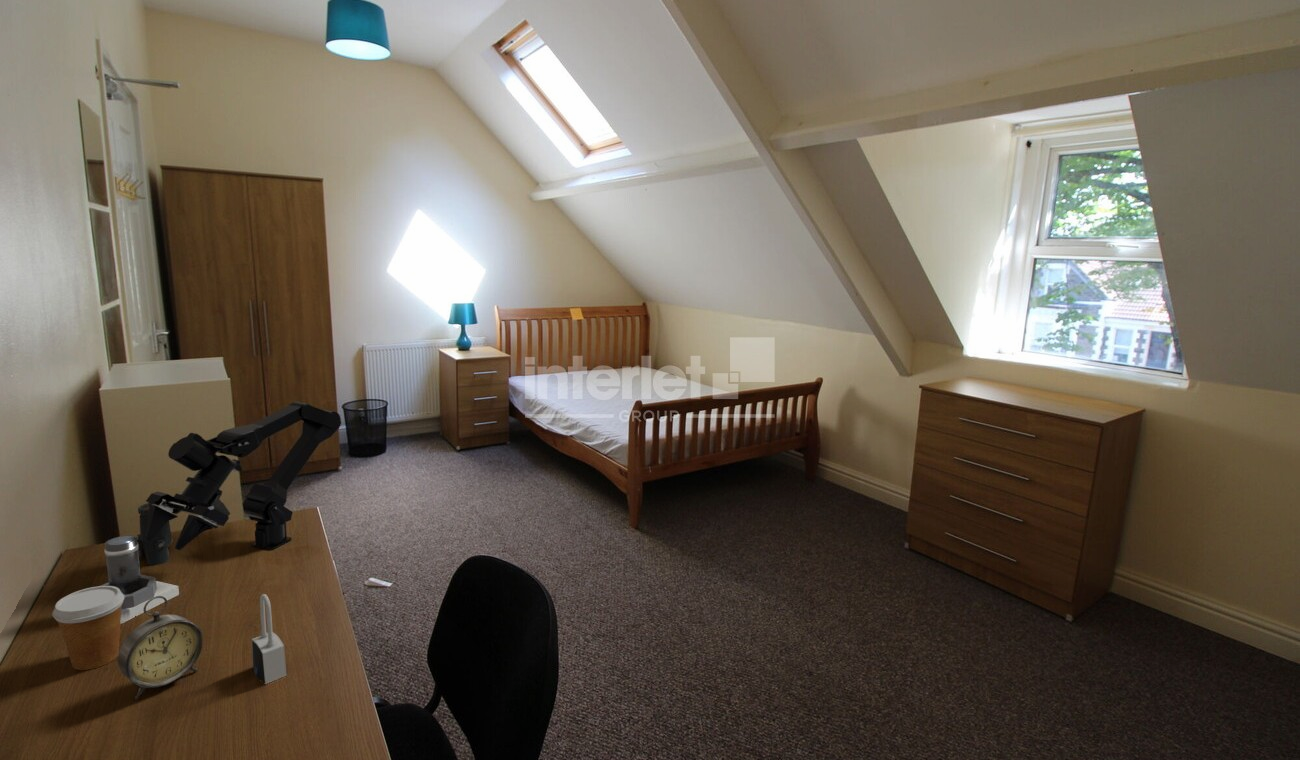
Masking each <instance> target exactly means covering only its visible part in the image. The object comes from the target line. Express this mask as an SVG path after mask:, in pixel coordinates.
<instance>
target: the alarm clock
mask: <svg viewBox="0 0 1300 760" xmlns="http://www.w3.org/2000/svg"><path fill="white" fill-rule="evenodd" d="M155 598H162V599H164V600H165V602H164V606H163V608H162V609H161V610H160V611H157V610H155V611H154V612H153V613H148V612H147V611H146V607H147V605H148V603H149V602H150V601H152V600H153V599H155ZM167 605H168V600H167V599H166V598H165V597H163V596H156V597H153V598H151V599H150V600H149V601H148V602H147V603H146V604H145V606H144V614H145V615H146V616H149V617H151V618H150V619H148V620H145V621H144V622H142V623H141V624H139V625H138V626H136V627H135V628H134V629H133V630H132V631H131V632H130V633H129V634H128V635H127V636H126V638H125V639H124V640H123V642H122V644H121V647H119V654H118V656H117V664H118V665H117V666H118V669H119V671H120V672H121V673H122V675H123V676H125V678H127V679H128V680H129V681H130V682H132V683H133V684H134V685H136V686H138V687H139V688H138V691H137V693H136V695H134V700H139V699H140V696H141V694H142V693H143V692H144V691H145V689H152V688H153V689H154V688H159V687H164V686H166V685H169V684H170V683H173V682H175V681H177V680H178V679H180V678H181V677H182V676H184V675H185V674H187V673H188V671H193V672H194V673H196V672H198V668H197V667H194V665H195V664H196V662H197V660H198V659H199V657H200V655H201V653H202V652H203V651H202V650H203V646H204V636H203V632H202V630H201V628H200V627H199V626H198V625H197V624H195V623H194V622H192V621H190V620H189V619H188V618H185V617H183V616H181V615H177V614H162V615H160V614H161V613H162V612H164V610H166V607H167Z"/></svg>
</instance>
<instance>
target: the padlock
mask: <svg viewBox="0 0 1300 760" xmlns="http://www.w3.org/2000/svg"><path fill="white" fill-rule="evenodd" d="M259 611H260V613H259V615H260V627H261V633H260V636H257V637H253V638H251V655H252V656H251V657H252V661H251V662H252V669H253V671H254V675H255V678H256V677H257V678H256V679H258V680H259V681H260V680H261V681H263V682H262V684H264V683H265V684H267V683H269V682H272V681H274V680H277V679H279V678H281V677H284V676H287V668H286V667H287V665H286V656H285V655H286V654H285V645H284V643H283V642H282V640H281V639H280V637H279V636H278V635H277V634H276V633H275V632H273V620H272V619H273V618H272V606H271V602H270V599H269V597H268V595H267V594H265V593H262V594H261V595H260V597H259ZM266 623H267V624H266ZM284 678H285V677H284ZM261 681H260V682H261ZM277 681H278V680H277ZM272 683H273V682H272ZM265 684H264V685H265Z"/></svg>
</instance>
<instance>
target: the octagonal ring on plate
mask: <svg viewBox="0 0 1300 760" xmlns="http://www.w3.org/2000/svg"><path fill="white" fill-rule="evenodd" d="M140 575H141V585H142V589H140V590H138V591H136V592H134V593H132V594H127V595H124V600H123V603H122V605H121V624H120V625H122V624H124V623H126V622H127V621H129V620H132V619H133V618H136V617H137V616H140V615H141V614H143V613H144V606H145V604H146V603H147V602H148V601H149V600H150V599H151V598H153V597H156V596H163V597H165V598H166V599H167V601H169V600H171V599H173V598H175V597H178V596H179V595H180V590H179V587H180V586H179V585H176V584H175V585H174V584H170V583H166V582H162V581H158V580H157V579H156V577H155V576H151V575H145V574H140ZM100 586H109V581H108V582H106V583H104V584H101V585H100ZM163 603H164V604H165V600H164V599H162V598H155V599H153V600H152V601H150V602H149V603H148V605H147V607H146V612H147V611H149V610H152V609H153V608H155V607H157V606H159V605H161V604H163ZM144 614H145V613H144ZM135 616H136V617H135Z"/></svg>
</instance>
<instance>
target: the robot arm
mask: <svg viewBox="0 0 1300 760" xmlns="http://www.w3.org/2000/svg"><path fill="white" fill-rule="evenodd" d="M300 421H301V422H303V423H302V424H301V425H302V427H301V435H300V436H299V438H298V439H297V441H295V443H294V445H293V446H292V448H291V449H290V450H289V451H288V453H287V454H286V456H285V457H284V458H283V460H282V461H281V463H280V464H279V465H278V467H277V468H276V469H275V471H274V472H273V474H272V475H271V476H270V478H269V479H268V480H267V481H266V482H264V483H262V484H261V483H257V482H256V483H254V485H252V487H251V489H250V490H249V492H247V493H246V495H244V500H243V502H242V507H243V508H242V509H243V512H244V514H245V515H246V516H248V518H249V520H250V521H254V522H256V523H255V530H254V539H255V541H254V542H252V543H251V546H252V547H257V548H261V549H267V550H274V549H276V548H278V547H280V546H282V545H284V544H285V543H288V542H290V541H292V540H293V537H291V536H290V537H289V536H288V535H287V534H288V533H287V522H289V521H291V520H292V516H293V510H290V509H289V508H287V507H286V506H285V505H286V503H287V496H288V495H287V494H288V489H289V488H290V487H291V485H292V484H293V482H294V481H295V480H296V479H297V477H298V475H299V473H300V472H301V471H302V469H303V468H304V467H305V465H306V464H307V462H308V461H309V459H310V458H311V456H312V455H313V454H314V452H315V451H316V449H318V446H319V445H320V444H321V443H323V442H325V441H326V440H329V438H332V436H334V434H335V433H336V432H337V431H338V430H339V429H340V427H341V425H342V420H341V415H340V413H338V412H337V411H333V410H327V409H321V408H318V407H315V406H313V405H311V404H309V403H307V402H300V401H294V402H293V401H292V402H291V403H289V404H288V405H286V406H285V407H282V408H281V409H279V410H276V411H274V412H272V413H271V414H269V415H267V416H265V417H263V418H261V419H259V420H257V421H255V422H253V423H250V424H246V425H240V426H234V427H232V428H228V429H225V430H222V431H221V432H219V433H218V434H217V436H215V437H212V438H209V439H205V438H203V437H202V436H201V435H200V434H198V433H196V432H190V433H188V435H187V436H185V437H181V438H180V439H179V440H177V441H176V442H174V443H173V444H172V445H171V446H170V448H169V449H168V453H167V454H168V458H169V459H171V460H173V461H174V462H176V463H178V464H179V465H182V467H185V468H187V469H188V470H190V471H192V472H194V471H195V472H196V471H197V472H196V473H195V474H194V476H193V477H190V476H188V477H187V478H186V479H185V482H186V483H188V484H187V485H186V487H185V488H184V489H183V491H182V492H181V493H175V494H174V495H173V496H172V495H170V494H168V493H165V492H161V491H155V492H151V493H150V495H148V497H147V499H146V500H145V502H147V503H150V504H148V505H147V506H148V507H149V516H148V525H147V531H146V537H145V540H146V541H148V542H150V541H152V540H153V538H154V537H155V536H156V535H157V534H158V533H159V532H160V530H161V529H162V528H163V527H164V526H165V524H166V523H167V522H168V521H169V522H170V521H171V520H174V519H177V518H178V517H179V516H178V514H179V513H181V512H184V513H188V516H187V518H186V519H185V523H184V524H183V527H182V529H181V531H180V533H179V536H178V538H177V540H176V543H175V546H174V549H175V550H177V551H181V550H183V548H184V547H186V546H188V544H190V543H191V542H192V541H193V540H194V539H195V538H197V537H198V536H199V535H201V534H202V533H204V532H205V531H209V530H215V529H219V527H224V526H226V524H227V522H229V516H230V515H231V512H230V511H229V509H228V508H227V507H226V505H225V503H224V501H223V502H222V500H221V499H220V498H221V497H222V495H223V490H222V489H221V487H222V486H223V485H224V483H225V481H226V480H227V478H228V477H229V476H230V474H231V473H232V472H233V471H234V472H237V473H242V472H243V466H242V464H241V460H240V459H231V458H230V457H228V456H232V457H238V458H242V459H243V458H245V457H248V456H250V455H251V454H252V453H254V451H256V450H258V449H259V448H260V446H261V445H262V444H263V442H264V441H265V440H267V439H269V438H271V437H272V436H274V435H276V434H278V433H279V432H281V431H283V430H286V429H287V428H289V427H290V426H292V425H294V424H297V423H299V422H300ZM217 454H220V455H217ZM226 455H228V456H226ZM291 539H292V540H291ZM289 540H290V541H289ZM287 541H288V542H287Z"/></svg>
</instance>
